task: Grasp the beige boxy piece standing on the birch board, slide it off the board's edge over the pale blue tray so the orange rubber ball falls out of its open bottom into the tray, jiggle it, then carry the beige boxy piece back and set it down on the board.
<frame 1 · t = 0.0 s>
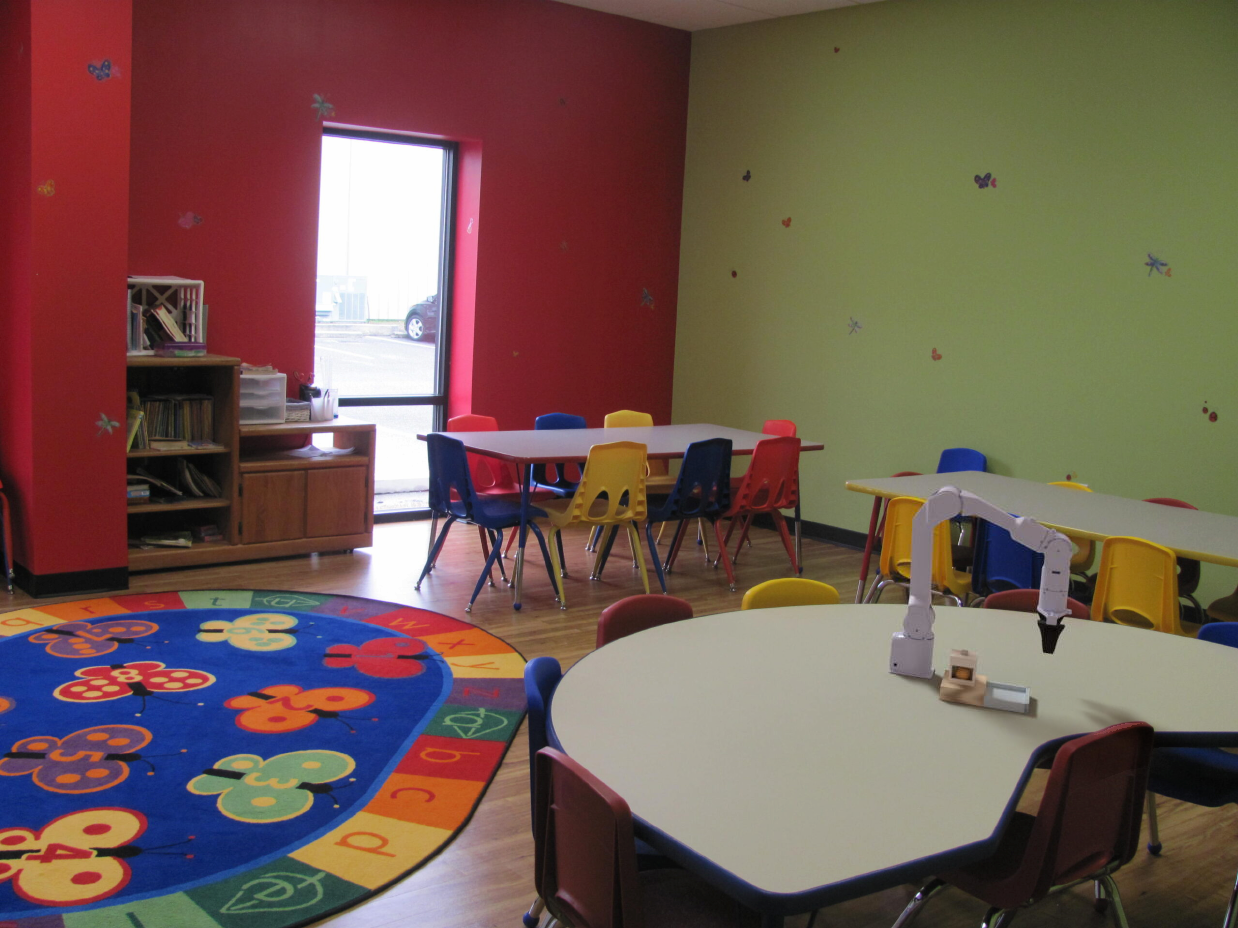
hand: (1048, 648, 241), 10 cm above the table, fingers open, 7 cm apart
board: (963, 694, 238), on the table
tray: (1006, 701, 235), on the table
beige boxy piece: (961, 680, 238), point 3 cm above the table, touching board
ball: (962, 673, 237), point 4 cm above the table, touching board
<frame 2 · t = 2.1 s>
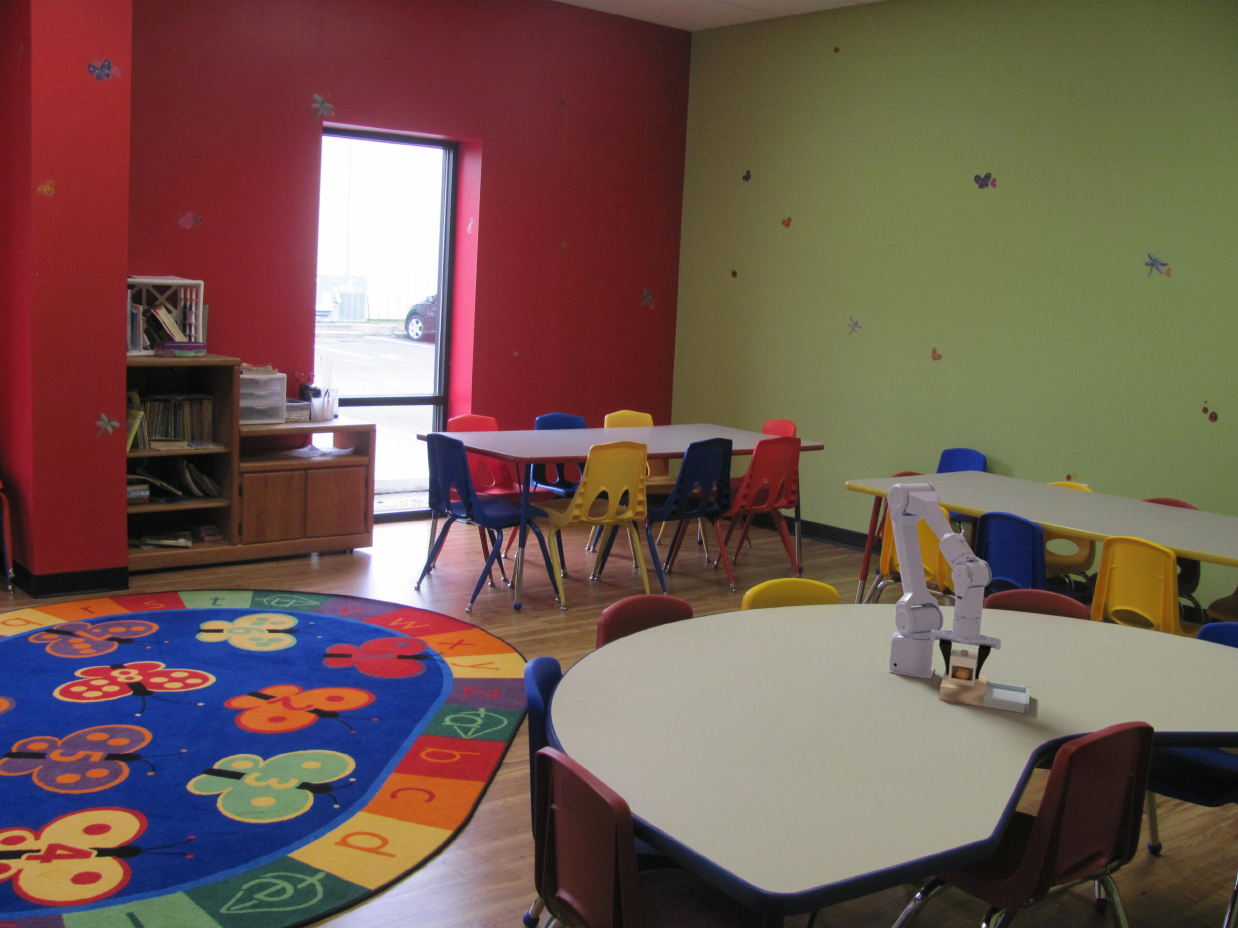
hand: (962, 675, 237), 4 cm above the table, fingers closed on beige boxy piece, 5 cm apart
beige boxy piece: (961, 680, 238), point 3 cm above the table, touching board, gripper
everything else where it was.
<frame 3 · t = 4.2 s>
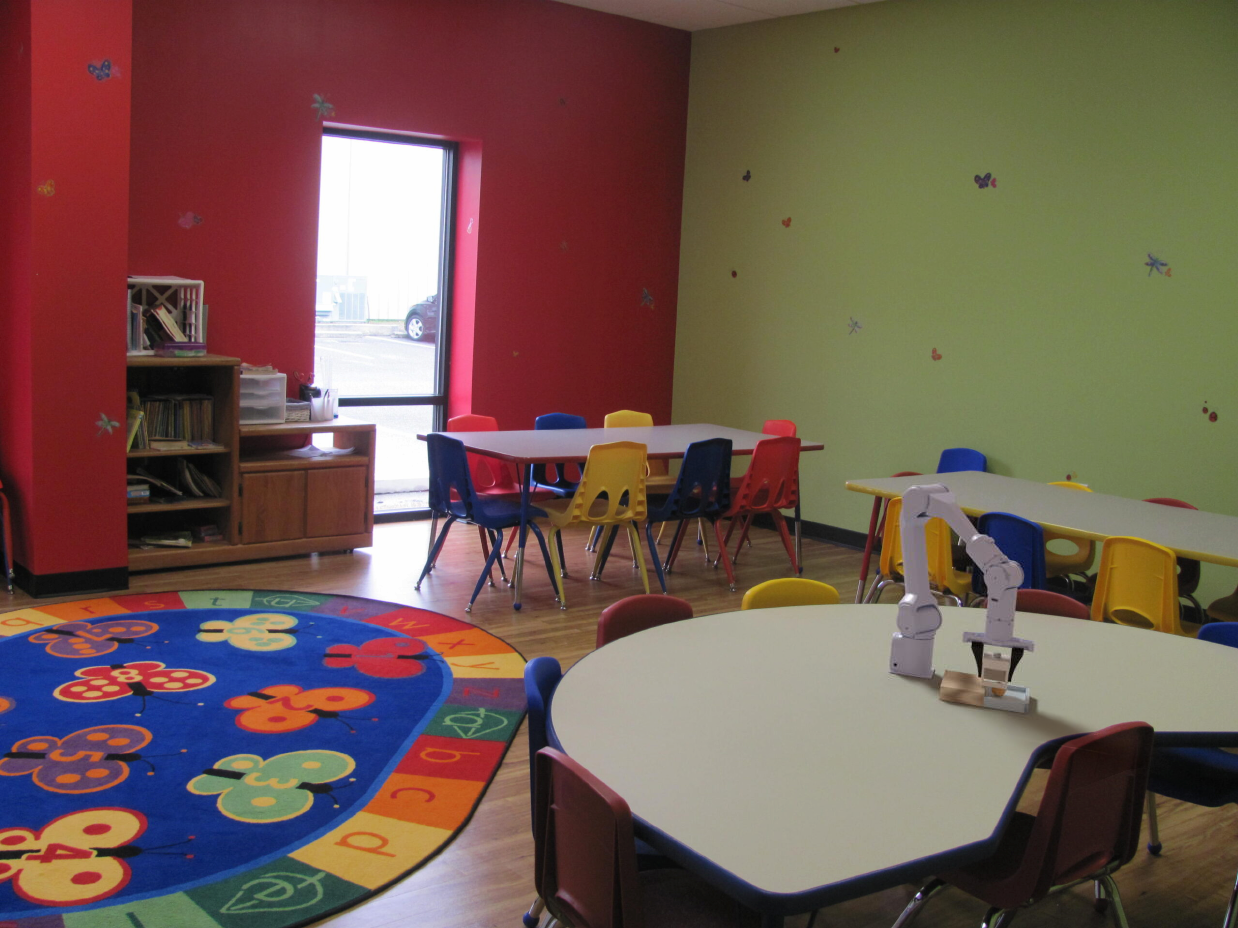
hand: (994, 678, 235), 5 cm above the table, fingers closed on beige boxy piece, 5 cm apart
beige boxy piece: (994, 683, 235), point 3 cm above the table, touching gripper
ball: (998, 688, 235), point 2 cm above the table, tilted 48°, touching tray
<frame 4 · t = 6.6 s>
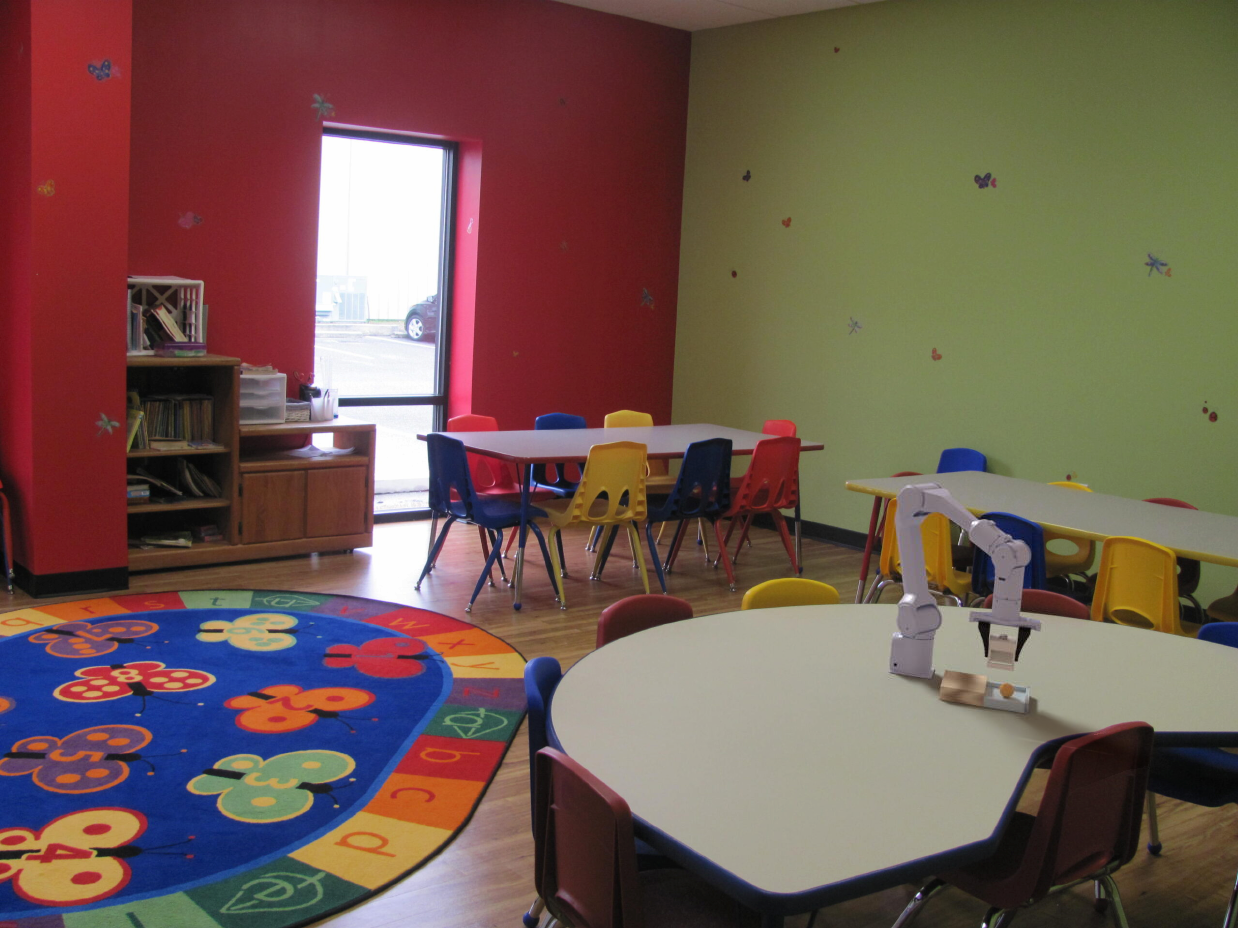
hand: (1001, 658, 234), 9 cm above the table, fingers closed on beige boxy piece, 5 cm apart
beige boxy piece: (1000, 665, 234), point 8 cm above the table, touching gripper
ball: (1006, 690, 234), point 2 cm above the table, tilted 14°, touching tray
when the fingers open (5 cm above the table, at t = 8.6 s): beige boxy piece stays where it is, resting on board.
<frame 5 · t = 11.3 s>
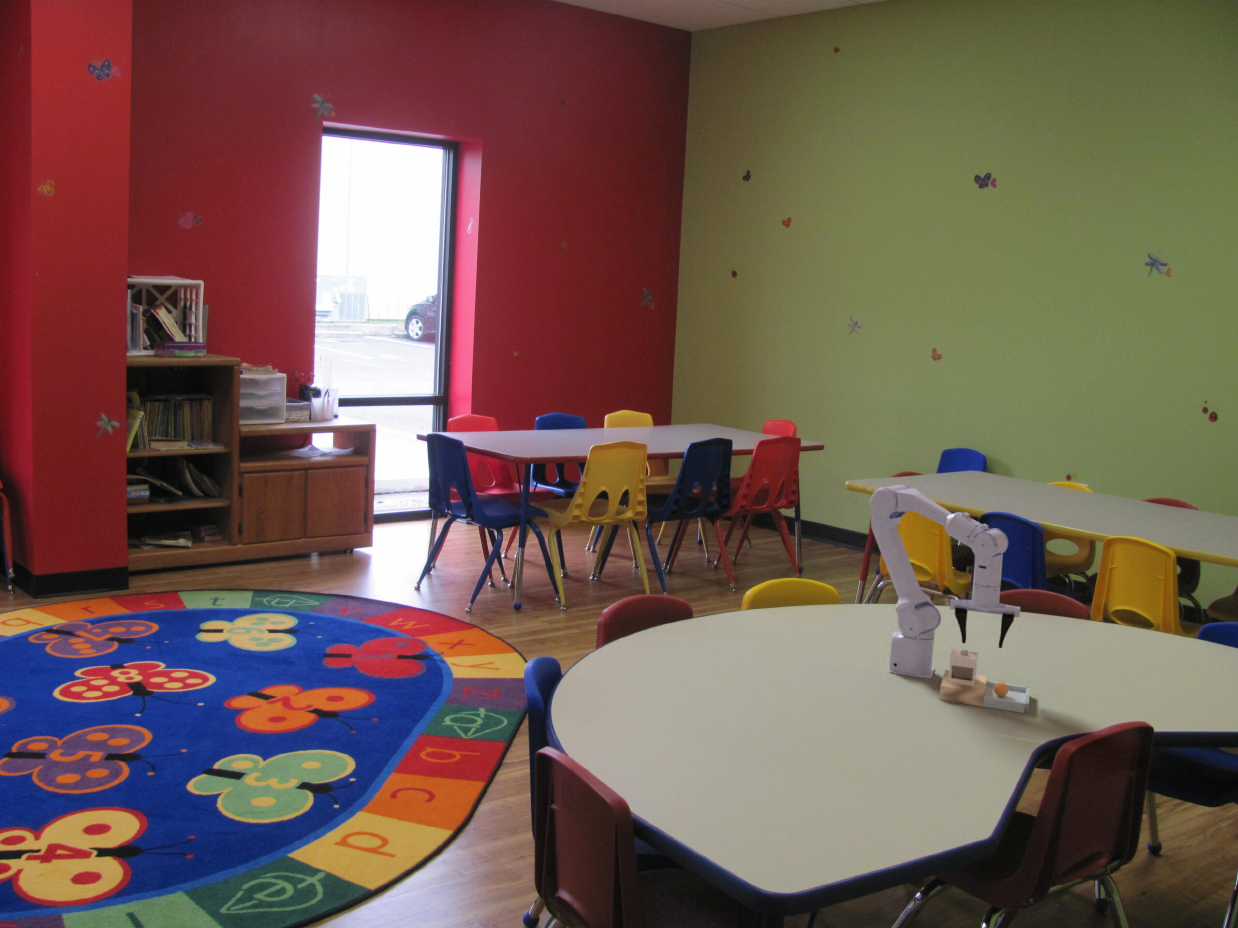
hand: (982, 644, 240), 10 cm above the table, fingers open, 7 cm apart
beige boxy piece: (961, 680, 238), point 3 cm above the table, touching board
ball: (1001, 689, 235), point 2 cm above the table, tilted 31°, touching tray
at the end: ball inside the target area on the tray (1.3 cm from its centre), point 2.5 cm above the tray's base; beige boxy piece inside the target area on the board (0.5 cm from its centre), point 3.0 cm above the board's base; the gripper is holding nothing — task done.
